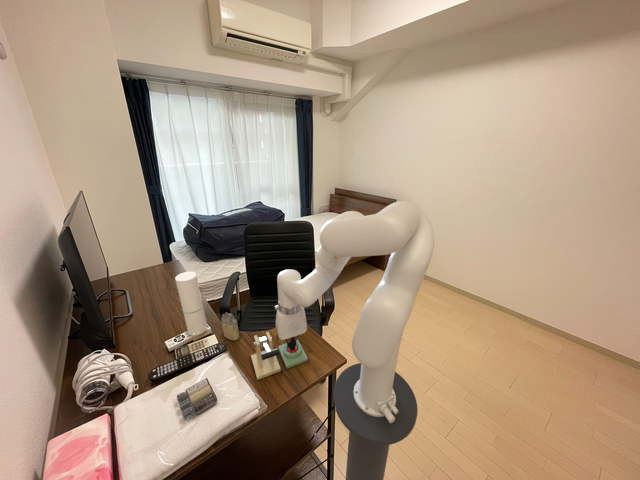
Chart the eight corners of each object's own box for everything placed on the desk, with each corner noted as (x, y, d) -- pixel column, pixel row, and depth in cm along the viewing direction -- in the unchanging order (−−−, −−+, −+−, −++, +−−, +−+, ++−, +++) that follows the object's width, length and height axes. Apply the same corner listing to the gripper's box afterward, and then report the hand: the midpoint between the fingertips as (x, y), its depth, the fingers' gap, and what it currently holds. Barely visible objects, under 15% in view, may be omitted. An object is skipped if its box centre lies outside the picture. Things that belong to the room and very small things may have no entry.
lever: (279, 356, 75) (278, 348, 75) (263, 362, 73) (261, 354, 73) (270, 341, 86) (269, 334, 86) (255, 346, 84) (254, 339, 84)
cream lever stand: (281, 371, 85) (279, 344, 81) (257, 380, 82) (253, 352, 77) (272, 350, 93) (270, 324, 89) (251, 357, 90) (247, 331, 86)
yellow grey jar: (241, 336, 100) (238, 315, 96) (234, 342, 97) (230, 321, 93) (228, 330, 103) (225, 310, 99) (221, 336, 100) (217, 315, 96)
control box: (308, 360, 89) (308, 354, 88) (286, 369, 86) (286, 362, 85) (298, 341, 97) (297, 335, 96) (278, 348, 94) (277, 342, 93)
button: (299, 353, 90) (298, 349, 90) (289, 356, 89) (289, 353, 88) (295, 346, 93) (295, 342, 93) (286, 349, 92) (286, 346, 91)
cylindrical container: (208, 322, 107) (198, 270, 98) (204, 334, 101) (193, 280, 91) (190, 324, 106) (178, 272, 97) (185, 336, 100) (172, 282, 90)
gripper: (271, 318, 78) (274, 362, 84) (315, 306, 84) (314, 348, 90) (265, 305, 84) (268, 347, 91) (306, 294, 90) (306, 334, 97)
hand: (291, 347), depth 91 cm, fingers closed
